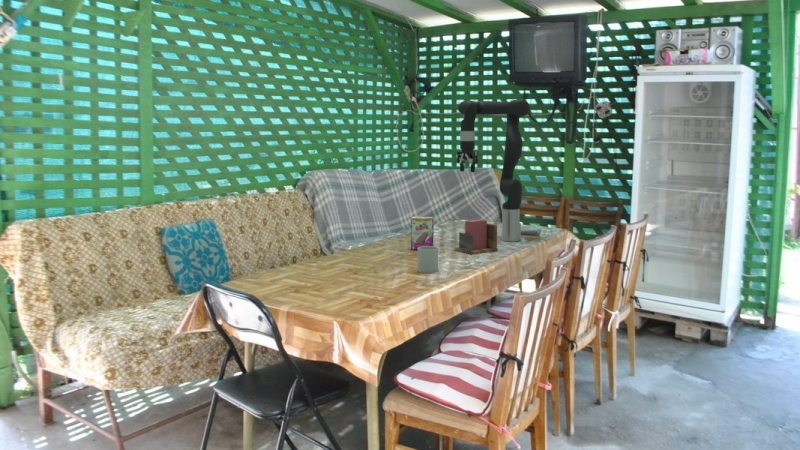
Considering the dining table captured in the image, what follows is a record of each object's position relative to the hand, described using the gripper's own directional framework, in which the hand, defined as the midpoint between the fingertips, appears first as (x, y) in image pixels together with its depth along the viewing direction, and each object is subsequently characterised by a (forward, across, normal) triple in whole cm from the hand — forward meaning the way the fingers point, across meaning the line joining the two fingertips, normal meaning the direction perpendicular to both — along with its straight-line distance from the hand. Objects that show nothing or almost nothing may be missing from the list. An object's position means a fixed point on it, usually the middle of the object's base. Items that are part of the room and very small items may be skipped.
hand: (467, 171), depth 346 cm
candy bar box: (+38, +2, +27) cm, 47 cm away
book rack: (+38, -17, +8) cm, 42 cm away
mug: (+38, -40, +53) cm, 77 cm away
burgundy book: (+37, -17, +8) cm, 41 cm away
